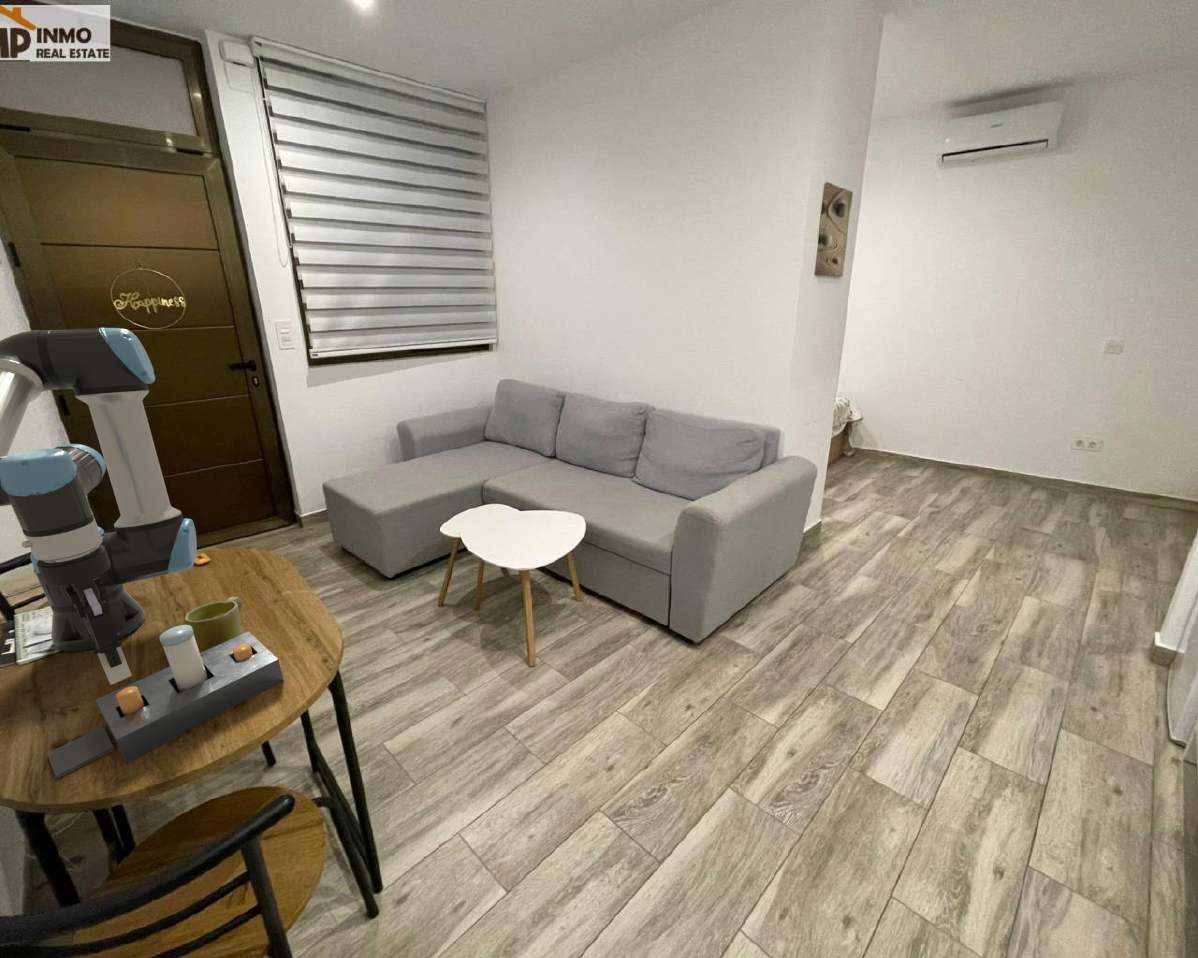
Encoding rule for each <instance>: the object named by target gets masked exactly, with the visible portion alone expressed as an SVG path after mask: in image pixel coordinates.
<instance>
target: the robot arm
mask: <svg viewBox="0 0 1198 958" xmlns="http://www.w3.org/2000/svg"><path fill="white" fill-rule="evenodd" d="M154 382H156V376H155V372H154V367H153V365H152V362H151V359H150V357H149V355H148V353H147V351H146V349H145V348H144V345H143V343H142V342H141V341H140V339H139V338H138V336H136V334H134V333H133V332H132V331H131V330H129V329H126V328H119V327H117V328H116V327H96V328H95V327H94V328H93V327H92V328H69V329H68V328H67V329H49V330H47V329H46V330H44V329H37V330H35V329H33V330H29V331H23V332H20V333H19V332H18V333H16V334H13V335H10V336H8V337H5V338H3V339H1V340H0V507H4V506H11V508H12V510H13V513H14V514H15V517H16V519H17V521H18V523H19V525H20V526H19V527H21V530H22V533H23V535H24V536H25V539H26V540H24V541H22V542H21V547H22V548H30V550H31V552H30V555H29V557H30V561H31V564H32V566H33V573H34V574H35V575H36V578H37V579H38V582H39V584H40V586H41V588H42V591H43V592H44V595H45V598H46V600H47V602H48V604H49V606H50V608H51V611H52V621H51V622H52V623H51V642H52V643H53V645H54V648H55V647H56V648H57V649H56V648H55V649H56V650H58V651H60V652H66V653H71V652H72V653H74V652H83V651H87V650H88V651H89V650H90V651H91V653H92V656H95V655H97V656H98V659H99V661H100V663H101V665H102V669H103V670H104V673H105V676H106V678H107V680H108V682H109V684H110V685H111V686H112V685H114V684H116V683H118V682H122V681H123V680H126V679H128V678H130V677H132V676H133V675H132V672H131V669H130V668H129V664H128V663H127V660H126V657H125V654H124V651H123V649H122V641H121V640H120V639H122V638H123V637H126V636H128V635H129V634H131V633H132V632H134V631H135V630H137V629H138V628H139V627H140V626H142V624H143V623H144V621H145V619H146V614H145V612H144V608H143V607H142V606H141V605H140V603H139V602H138V601H137V600H135V598H134V597H132V595H131V594H130V593H129V592H128V591H126V589H125V587H124V584H129V583H132V582H133V583H134V582H139V581H143V580H148V579H152V578H158V577H162V576H166V575H168V576H171V575H172V574H175V573H178V572H179V573H180V572H184V571H188V570H189V569H191V568H192V567H193V565H194V564H195V562H196V559H197V543H198V542H197V531H196V528H195V527H196V526H195V524H194V521H193V520H192V519H191V518H187V517H185V518H184V517H183V514H182V511H181V510H180V509H177V508H175V507H173V506H172V505H171V502H170V499H169V494H168V492H167V491H168V490H167V487H166V483H165V480H164V475H163V472H162V468H161V465H160V462H159V457H158V454H157V451H156V447H155V443H154V442H155V441H154V439H153V436H152V431H151V428H150V424H149V421H148V417H147V414H146V413H147V412H146V410H145V406H144V403H143V400H144V398H145V397H146V396H147V395H148V394H149V393H150V392H149V391H150V390H149V387H148V384H149V385H150V384H152V383H154ZM53 390H54V391H55V390H73V393H74V396H75V398H76V399H78V400H79V401H81V402H83V403H85V404H86V405H87V406H88V409H89V412H90V415H91V419H92V422H93V425H94V429H95V433H96V435H97V439H98V442H99V446H100V450H101V453H102V455H103V456H102V455H101V454H100V452H98V451H97V450H95V449H94V448H92V447H90V446H87V445H84V444H79V443H68V444H64V445H58V446H56V447H53V448H42V449H33V450H27V451H22V452H18V453H17V452H16V453H15V454H12V455H8V454H9V452H10V449H11V448H12V444H13V442H14V439H15V437H16V435H17V432H18V430H19V427H20V426H21V423H22V421H23V418H24V416H25V413H26V411H27V408H28V406H29V404H30V402H33V401H35V400H37V398H38V397H40V395H41V394H42V393H43V392H47V391H53ZM106 470H107V473H108V477H109V480H110V483H111V487H112V490H113V494H114V496H115V500H116V504H117V506H118V510H119V513H120V516H119V518H118V519H117V520H116V521H115V523H114V524H113V526H114V530H115V531H112V532H110V531H109V532H105V531H104V529H103V528H102V527H100V526H98V524H97V521H96V519H95V517H94V516H93V512H92V510H91V507H90V505H89V502H88V498H87V495H88V494H89V493H90V492H91V491H92V490H93V489H94V488H95V487H97V486H98V485H100V483H101V481H102V480H103V477H104V475H105V473H106ZM91 649H92V650H91Z"/></svg>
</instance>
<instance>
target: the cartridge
mask: <svg viewBox="0 0 1198 958" xmlns="http://www.w3.org/2000/svg"><path fill="white" fill-rule="evenodd" d="M158 638H159V641H160V642H159V643H160V644H161V645H162V648H163V651H164V653H165V655H166V656H165V657H166V659H167V662H168V665H169V667H171V670H172V673H173V676H174V678H175V681H176V684H177V687H178V690H179V692H180V693H181V692H184V691H186V690H188V689H190V688H192V687H194V686H196V685H198V684H200V683H202V682H204V681H206V680H208V677H207V674H206V671H205V668H204V665H203V662H202V659H201V656H200V653H199V649H198V646H197V643H196V640H195V637H194V632H193V629H192V627H191V626H190V625H186V624H181V625H177V626H173V627H170V628H169V629H167V630H165V631H164V632H163V633H161V634H160V635H159V637H158Z"/></svg>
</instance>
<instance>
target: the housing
mask: <svg viewBox="0 0 1198 958" xmlns="http://www.w3.org/2000/svg"><path fill="white" fill-rule="evenodd" d="M243 644H249V645H250V646H251V650H252V653H253V655H252V656H250V657H248V658H246V659H244V660H242V661H240V662H238V663H237V662H236V659H235V656H234V652H233V651H234V649H235V648H236V647H238V646H240V645H243ZM200 656H201V659H202V662H203V665H204V668H205V671H206V674H207V677H208V680H206V681H204V682H202V683H200V684H198V685H196V686H194V687H192V688H190V689H188V690H186V691H184V692H181V693H180V692H179V690H178V687H177V684H176V681H175V678H174V676H173V673H172V670H171V667H170V666H168V667H165V668H164V669H162V670H159V671H156V672H155V673H152V674H150V675H148V676H145V677H143V678H140V679H138V680H136V681H135V682H132V683H130V684H128V685H126V686H124V687H120V688H118V689H116V690H114V691H112V692H110V693H107V694H104V695H103V696H100V697H99V698H96V699H95V701H96V703H97V706H98V708H99V710H100V713H101V715H102V717H103V720H104V722H105V724H106V726H107V728H108V729H109V732H110V734H111V735H112V738H113V740H114V742H115V743H116V746H117V747H118V750H119V752H120V754H121V755H122V757H123V759H124V761H125V763H126V764H128V763H130V762H132V761H134V760H136V759H138V758H139V757H142V756H143V755H146V754H147V753H149V752H151V751H153V750H155V749H157V748H158V747H160V746H163V745H164V744H166V743H168V742H169V741H171V740H173V739H176V738H177V737H179V736H181V735H182V734H185V733H186V732H189V731H190V730H192V729H194V728H196V727H198V726H200V725H202V724H203V723H205V722H207V721H209V720H211V719H213V718H215V717H216V716H218V715H220V714H223V713H225V712H226V711H228V710H230V709H232V708H234V707H236V706H237V705H239V704H241V703H243V702H245V701H247V700H249V699H251V698H252V697H254V696H256V695H258V694H260V693H262V692H264V691H266V690H267V689H269V688H272V687H273V686H275V685H277V684H279V683H280V682H283V681H284V676H283V672H282V668H281V664H280V660H279V658H278V657H277V656H275V654H274V653H272V652H271V651H270V650H269V649H268V648H267V646H265V645H264V644H263V643H262V642H261V641H260V640H258V638H257V637H255V635H253V634H252V632H250V631H246V632H244V633H242V635H240V636H237V637H235V638H233V639H231V640H228V641H226V642H224V643H222V644H219V645H217V646H215V647H213V648H210V649H208V650H206V651H204V652H201V653H200ZM131 686H136V687H137V688H138V690H139V693H140V695H141V698H142V701H143V703H144V706H145V707H144V708H142V709H140V710H137V711H135V712H133V713H131V714H129V715H127V716H125V717H124V715H123V713H122V710H121V708H120V705H119V703H118V700H117V698H116V695H117V693H118V692H120V691H121V690H123V689H125V688H127V687H131Z"/></svg>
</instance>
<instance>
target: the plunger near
mask: <svg viewBox="0 0 1198 958" xmlns="http://www.w3.org/2000/svg"><path fill="white" fill-rule="evenodd" d="M116 698H117V700H118V703H119V705H120V708H121V710H122V713H123V715H124V717H125V716H127V715H129V714H131V713H133V712H135V711H137V710H140V709H142V708H144V707H145V706H144V703H143V701H142V698H141V695H140V693H139V690H138V688H137V687H136V686H131V687H127V688H125V689H123V690H121V691H120V692H118V693H117V695H116Z"/></svg>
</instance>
